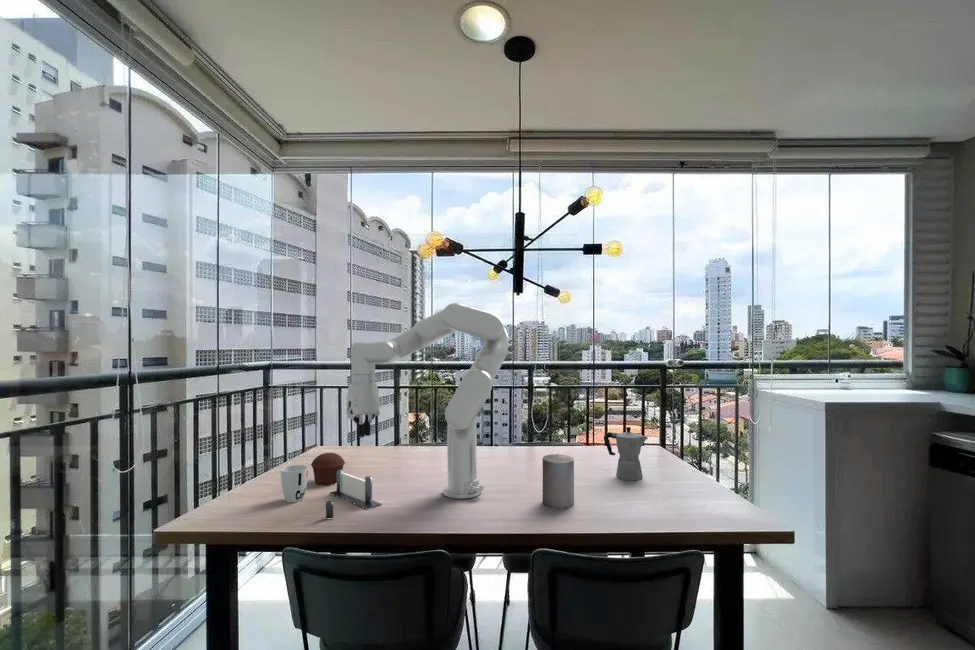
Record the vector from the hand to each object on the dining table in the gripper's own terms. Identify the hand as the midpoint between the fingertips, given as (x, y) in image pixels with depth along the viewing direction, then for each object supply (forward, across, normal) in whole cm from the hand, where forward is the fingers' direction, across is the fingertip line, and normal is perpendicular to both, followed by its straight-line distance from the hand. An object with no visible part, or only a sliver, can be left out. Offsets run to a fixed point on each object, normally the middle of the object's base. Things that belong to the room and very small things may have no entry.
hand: (363, 435), depth 160 cm
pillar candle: (+19, -35, +52) cm, 66 cm away
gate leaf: (+18, +5, +2) cm, 19 cm away
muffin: (+19, +1, -22) cm, 29 cm away
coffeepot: (+19, -74, +54) cm, 94 cm away
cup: (+19, +18, -12) cm, 29 cm away
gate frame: (+19, +11, +2) cm, 22 cm away
